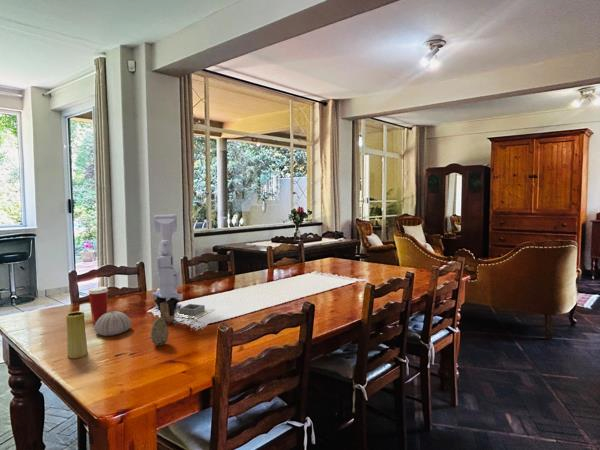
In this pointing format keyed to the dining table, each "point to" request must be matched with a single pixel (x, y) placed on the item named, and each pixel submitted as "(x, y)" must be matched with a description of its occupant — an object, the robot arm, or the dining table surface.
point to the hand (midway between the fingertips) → (167, 314)
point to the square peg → (166, 312)
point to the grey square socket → (193, 310)
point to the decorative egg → (159, 332)
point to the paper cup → (98, 302)
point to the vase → (76, 335)
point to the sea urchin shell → (112, 323)
